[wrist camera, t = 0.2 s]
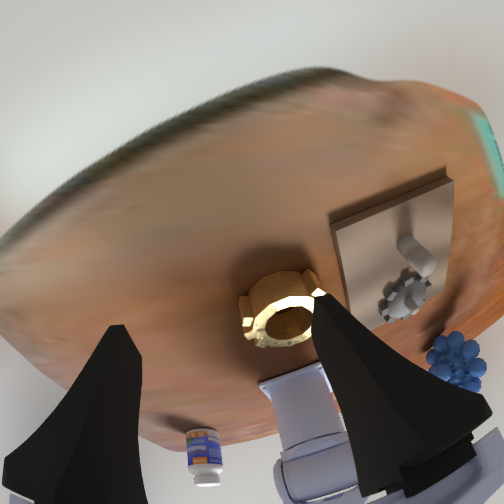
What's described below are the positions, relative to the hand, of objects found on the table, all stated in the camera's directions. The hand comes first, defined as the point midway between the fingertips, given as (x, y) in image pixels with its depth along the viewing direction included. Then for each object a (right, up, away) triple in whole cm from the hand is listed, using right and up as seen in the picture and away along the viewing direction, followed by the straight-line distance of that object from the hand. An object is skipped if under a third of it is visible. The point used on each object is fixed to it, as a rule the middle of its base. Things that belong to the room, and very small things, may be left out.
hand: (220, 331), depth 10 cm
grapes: (+28, -10, +24) cm, 39 cm away
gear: (+4, -1, +13) cm, 14 cm away
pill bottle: (-7, -26, +28) cm, 39 cm away
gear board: (+15, +2, +13) cm, 20 cm away
